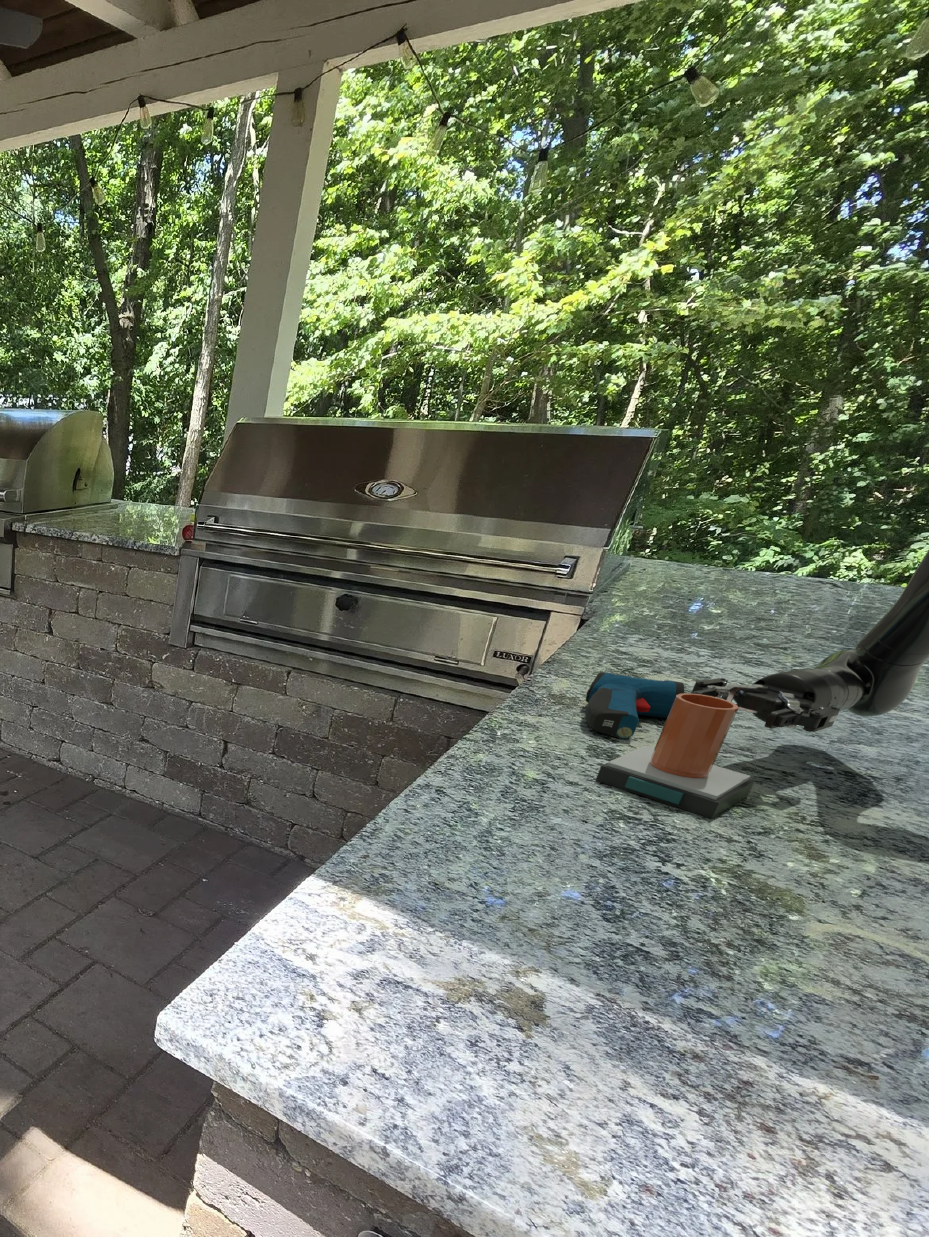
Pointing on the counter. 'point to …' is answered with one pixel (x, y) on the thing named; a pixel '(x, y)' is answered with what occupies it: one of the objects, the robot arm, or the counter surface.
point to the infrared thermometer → (627, 702)
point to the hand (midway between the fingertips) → (731, 709)
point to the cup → (693, 735)
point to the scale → (676, 784)
